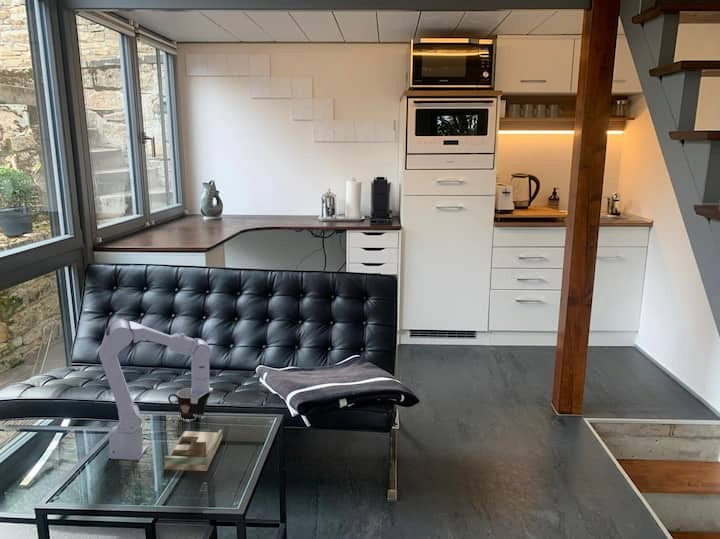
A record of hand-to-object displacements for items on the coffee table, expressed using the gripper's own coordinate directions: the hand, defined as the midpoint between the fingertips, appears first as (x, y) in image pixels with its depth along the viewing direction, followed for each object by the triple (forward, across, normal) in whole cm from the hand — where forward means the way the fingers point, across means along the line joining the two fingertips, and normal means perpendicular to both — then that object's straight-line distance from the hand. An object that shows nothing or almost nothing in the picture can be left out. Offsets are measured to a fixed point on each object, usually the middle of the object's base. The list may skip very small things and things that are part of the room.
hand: (200, 413), depth 182 cm
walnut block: (+8, -14, -3) cm, 17 cm away
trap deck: (+10, -8, 0) cm, 12 cm away
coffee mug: (+10, +16, +10) cm, 22 cm away
